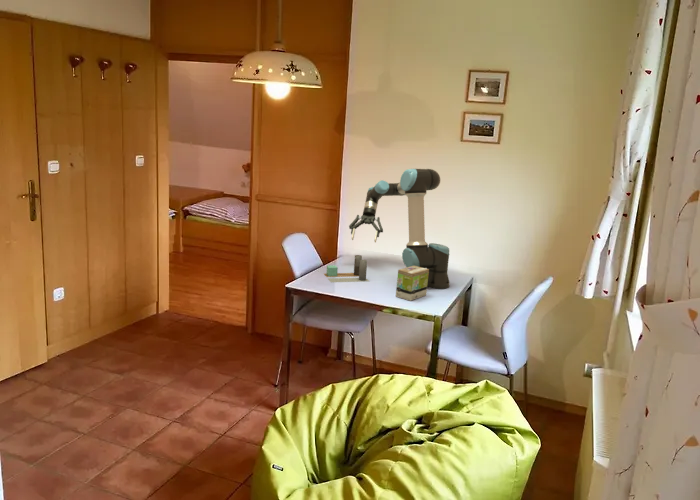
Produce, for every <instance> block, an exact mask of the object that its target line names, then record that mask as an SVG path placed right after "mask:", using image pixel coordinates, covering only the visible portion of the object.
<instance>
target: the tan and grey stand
mask: <svg viewBox="0 0 700 500" xmlns="http://www.w3.org/2000/svg"><path fill="white" fill-rule="evenodd" d="M360 260H363V255H360V254H355V255H354V263H353V265H354V266H353V272H337V276H328V275H327V274H326V273H323V275H324V277H326V278H358V277H359V268H360Z"/></svg>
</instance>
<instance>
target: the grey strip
mask: <svg viewBox="0 0 700 500" xmlns="http://www.w3.org/2000/svg"><path fill="white" fill-rule="evenodd" d="M367 268H368V260H367V259H362V260H360V268H359V276H358V277H328V278H327V280H328V281H329V282H330V283H357V282H361V283H362V282H370V280H369V279H368V278H367Z"/></svg>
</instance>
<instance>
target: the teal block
mask: <svg viewBox="0 0 700 500" xmlns="http://www.w3.org/2000/svg"><path fill="white" fill-rule="evenodd" d="M338 270H339V269H338V266H337V265H335V264H334V265H331V264H330V265H328V264H327V265H326V274H327V275H328V276H337V273H338Z"/></svg>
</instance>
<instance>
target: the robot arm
mask: <svg viewBox="0 0 700 500" xmlns="http://www.w3.org/2000/svg"><path fill="white" fill-rule="evenodd" d="M440 184H441V176H440V174H439V173H438V172H437V171H436V170H435V169H432V168H409V169H405V170H404V171H403V172H402V174H401V177H400V180H399V182H396V183H394V182H393V183H390V182H388V181H386V180H384V179H383V180H381V179H380V180H379V181H378V182H377V183H375V185H374V186H372V187H369V188H368V189H367V192H366V197H365V203H364V206H363V207H364V208H363V210H362V211H363V212H362V215H359V214H357V215H356V217H355V219H354V220H353V221H352V222H351V223H350V224H349V225H348V227H349V230H351V231H350V235H351V240H352V241H353V240H354V238H355V234H356V229H358V228H359V227H361V225H371V226H373V228H374V229H375V234H374V235H375V236H374V243H377V240H378V238H379V237H380V234H381V233H384V229H383V226H382V224H381V221H380V216H378V217H376V215H377V208H378V203H379V201H380V199H382V198H383V197H390V196H391V197H392V196H394V197H395V196H401V197H402V196H406V197H407V208H408V209H407V210H408V211H407V213H408V215H407V216H408V217H407V218H408V242H407V243H406V244H405V245H406V248H404V249H403V250H402V252H401V253H402V254H401V256H402V257H401V258H402V262H403V263H404V266H405V268H407V267H410V266H418V267H422V268H426V269H429V275H428V284H427V288H430V289H436V290H437V289H438V290H443V289H448V288H449V287H450V279H449V274H448V268H449V261H450V259H449V258H450V248H449V246H446V245H444V244H440V243H436V242H435V243H434V242H433V243H432V242H431V243H429V244H428V242H426V235H425V234H426V233H425V232H426V231H425V230H426V229H425V200H424V199H425V196H426V195H427V191H433V190H436V189H437V188H438V187H439V186H440ZM375 221H376V222H377V224H376V222H375ZM377 225H378V226H377Z"/></svg>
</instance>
